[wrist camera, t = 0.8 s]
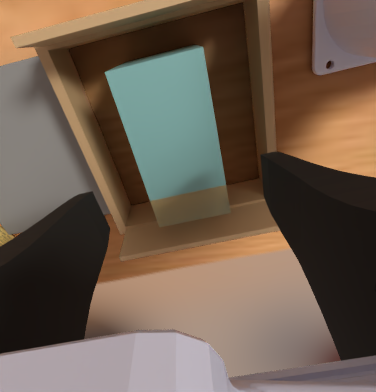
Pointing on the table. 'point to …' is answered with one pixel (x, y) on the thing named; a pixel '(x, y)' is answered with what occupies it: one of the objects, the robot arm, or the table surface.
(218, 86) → the table surface
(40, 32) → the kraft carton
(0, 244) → the candy box
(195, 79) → the teal box
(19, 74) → the slate mat
